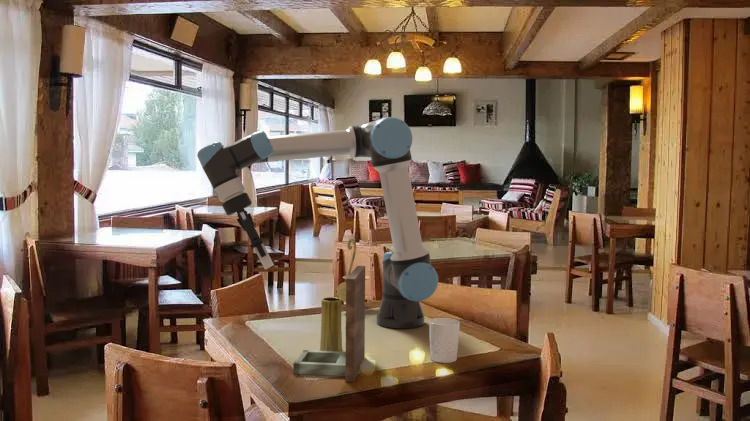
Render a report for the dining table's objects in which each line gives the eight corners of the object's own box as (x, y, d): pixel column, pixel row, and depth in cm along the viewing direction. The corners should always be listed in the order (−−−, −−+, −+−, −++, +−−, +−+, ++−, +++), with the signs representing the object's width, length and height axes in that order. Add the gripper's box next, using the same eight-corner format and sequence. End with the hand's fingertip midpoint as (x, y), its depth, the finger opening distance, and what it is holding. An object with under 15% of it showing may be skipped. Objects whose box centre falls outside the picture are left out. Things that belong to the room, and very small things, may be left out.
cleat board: (289, 379, 151) (289, 277, 149) (307, 354, 170) (307, 264, 169) (354, 382, 149) (354, 278, 147) (364, 357, 169) (365, 266, 167)
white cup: (426, 355, 171) (426, 317, 171) (455, 354, 172) (456, 317, 171) (431, 364, 163) (431, 325, 163) (462, 363, 164) (462, 324, 163)
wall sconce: (358, 313, 220) (358, 240, 218) (332, 310, 223) (333, 238, 222) (373, 305, 233) (373, 236, 231) (348, 303, 236) (349, 235, 235)
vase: (346, 349, 176) (346, 297, 175) (337, 355, 170) (337, 302, 169) (325, 347, 178) (325, 296, 177) (316, 353, 172) (316, 300, 171)
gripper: (222, 205, 189) (255, 269, 190) (219, 201, 164) (257, 275, 166) (246, 193, 190) (278, 258, 191) (245, 188, 166) (283, 261, 167)
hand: (268, 266), depth 179 cm, fingers open, 13 cm apart
